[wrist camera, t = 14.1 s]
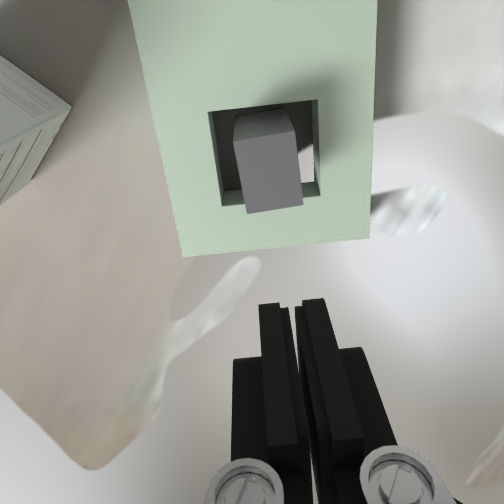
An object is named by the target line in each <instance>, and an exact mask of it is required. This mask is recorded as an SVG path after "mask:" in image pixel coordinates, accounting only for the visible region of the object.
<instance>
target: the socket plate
mask: <svg viewBox="0 0 504 504" xmlns="http://www.w3.org/2000/svg"><path fill="white" fill-rule="evenodd" d="M128 5H129V10H130V14H131V19H132V23H133V28H134V33H135V37H136V42H137V47H138V51H139V56H140V61H141V65H142V70H143V74H144V79H145V84H146V88H147V93H148V98H149V102H150V107H151V112H152V116H153V121H154V125H155V130H156V135H157V139H158V144H159V149H160V153H161V158H162V163H163V167H164V172H165V176H166V181H167V186H168V190H169V195H170V200H171V204H172V209H173V213H174V218H175V223H176V227H177V232H178V237H179V241H180V246H181V251H182V255H183V257H189V256H199V255H209V254H218V253H228V252H238V251H247V250H258V249H268V248H278V247H288V246H298V245H307V244H318V243H328V242H337V241H348V240H356V239H367V238H369V232H370V203H371V173H372V143H373V114H374V85H375V56H376V26H377V0H128ZM306 100H312V124H313V151H314V180H315V182H308V183H301V187H302V195H303V204H304V205H301V206H295V207H289V208H282V209H276V210H270V211H264V212H258V213H252V214H247V212H246V207H245V202H244V197H243V192H242V189H241V190H232V191H224V190H223V183H222V176H221V169H220V163H219V156H218V149H217V142H216V136H215V129H214V122H213V115H212V111H219V110H227V109H236V108H245V107H254V106H263V105H271V104H280V103H289V102H298V101H306Z"/></svg>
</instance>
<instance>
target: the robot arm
mask: <svg viewBox="0 0 504 504" xmlns="http://www.w3.org/2000/svg"><path fill="white" fill-rule="evenodd" d="M295 321H296V335H297V350H298V364H299V371H298V366H297V359H296V353H295V346H294V340H293V334H292V328H291V321H290V315H289V309H288V307H286V308H280V304H279V303H270V304H261V305H259V322H260V339H261V353H262V356H261V357H250V358H240V359H234V360H233V384H232V386H233V387H232V388H233V389H232V390H233V391H232V431H231V462H230V463H227V464H226V465H225V466H223V467H222V468H221V469H219V470H218V471H217V473H216V474H215V476H214V477H213V478H212V479H211V481H210V484H209V486H208V489H207V492H206V496H205V500H204V504H313V492H312V474H311V459H312V466H313V472H314V478H315V485H316V491H317V497H318V504H462V503H461V502H459V501H458V500H456V499H455V498H453V496H452V495H451V493H450V491H449V490H448V488H447V486H446V485H445V483H444V481H443V480H442V478H441V476H440V475H439V473H438V471H437V470H436V469H435V468H434V466H433V465H432V464H431V463H430V461H428V460H427V459H426V458H425V457H423V456H422V455H421V454H419V453H417V452H415V451H413V450H411V449H409V448H406V447H401V446H398V445H397V442H396V439H395V437H394V434H393V431H392V429H391V425H390V423H389V420H388V417H387V414H386V412H385V409H384V406H383V403H382V400H381V398H380V395H379V392H378V390H377V387H376V384H375V381H374V378H373V376H372V373H371V370H370V367H369V364H368V362H367V359H366V356H365V354H364V351H363V349H362V348H361V347H355V348H345V349H338V345H337V342H336V338H335V335H334V331H333V328H332V324H331V321H330V317H329V314H328V310H327V307H326V303H325V300H324V299H323V298H320V299H310V300H303V301H302V306H297V307H295ZM310 453H311V457H310Z"/></svg>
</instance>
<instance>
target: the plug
mask: <svg viewBox="0 0 504 504" xmlns="http://www.w3.org/2000/svg"><path fill="white" fill-rule="evenodd" d="M233 145H234V150H235V155H236V161H237V166H238V171H239V176H240V181H241V186H242V192H243V197H244V202H245V207H246V212H247V214H252V213H258V212H264V211H270V210H276V209H282V208H289V207H295V206H301V205H304V204H303V195H302V187H301V179H300V170H299V162H298V153H297V145H296V137H295V130H294V128H293V126H292V124H291V121H290V119H289V117H288V115H287V113H286V110H285V108H281V109H276V110H270V111H265V112H259V113H253V114H248V115H242V116H237V117H235V125H234V135H233Z"/></svg>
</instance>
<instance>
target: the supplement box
mask: <svg viewBox="0 0 504 504" xmlns="http://www.w3.org/2000/svg"><path fill="white" fill-rule="evenodd" d="M71 108H72V107H71V106H70V105H69V104H68V103H66V102H65V101H63V100H62V99H61V98H59V97H58V96H57V95H55V94H54V93H53V92H51V91H50V90H48V89H47V88H46V87H44V86H43V85H41V84H40V83H39V82H37V81H36V80H34V79H33V78H32V77H30V76H29V75H27V74H26V73H25V72H23V71H22V70H20V69H19V68H18V67H16V66H15V65H13V64H12V63H11V62H9V61H8V60H6V59H5V58H4V57H2V56H1V55H0V205H1V204H3V203H4V202H5V201H6V200H8V199H9V198H10V197H12V196H13V195H14V194H16V193H17V192H19V191H20V190H21V189H22V188H24V187H25V186H26V185H27V184H28V183H29V182H30V180H31V178H32V176H33V175H34V173H35V171H36V169H37V167H38V166H39V164H40V162H41V161H42V159H43V157H44V155H45V154H46V152H47V150H48V148H49V147H50V145H51V143H52V142H53V140H54V138H55V136H56V135H57V133H58V131H59V129H60V128H61V126H62V124H63V123H64V121H65V119H66V117H67V116H68V114H69V112H70V110H71Z"/></svg>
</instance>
